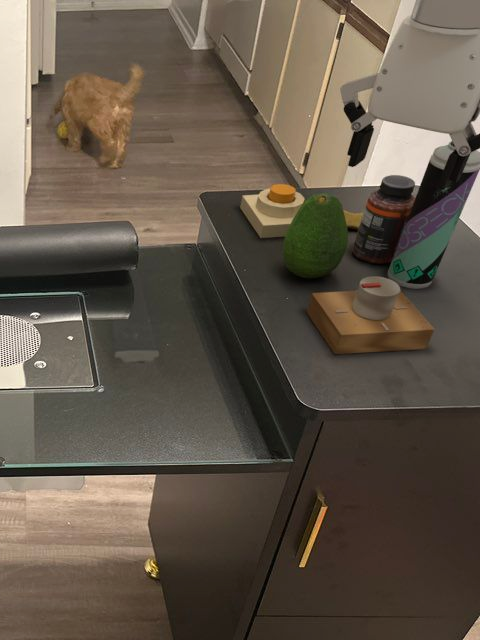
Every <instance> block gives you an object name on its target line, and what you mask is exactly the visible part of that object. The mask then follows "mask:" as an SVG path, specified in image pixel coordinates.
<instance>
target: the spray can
mask: <svg viewBox="0 0 480 640" xmlns="http://www.w3.org/2000/svg"><path fill="white" fill-rule="evenodd" d="M455 149H456V148H455V146H454V144H453V142H452V140H451V141H449V142H448V144H446V145H441V146H438V147H436V148H434V149H433V152H432V154H431V155H430V158H429V161H428V163H427V166H426V169H425V172H424V174H423V176H422V180H421V182H420V185H419V187H418V190H417V193H416V195H415V200H414V203H413V206H412V208H411V211H410V214H409V217H408V219H407V222H406V225H405V227H404V230H403V233H402V235H401V238H400V241H399V243H398V246H397V249H396V251H395V254H394V257H393V259H392V262H390V264H389V268H388V270H387V274H386V275H387V279H390V280H392V281H394V282H396V283H397V284H398V285H399V287H403V288H407V289H417V290H419V289H425V288H428V287H430V286H431V285H432V282H433V280H434V278H435V277H436V273H437V271H438V269H439V266H440V264H441V262H442V259H443V258H444V255H445V252H446V250H447V248H448V245H449V243H450V241H451V239H452V237H453V234H454V231H455V229H456V227H457V225H458V222H459V219H460V218H461V215H462V214H463V213H462V212H463V210H464V207H465V205H466V203H467V201H468V198H469V197H470V196H469V195H470V194H471V191H472V189H473V186H474V184H475V182H476V180H477V177H478V175H479V172H480V151H478V149H477V150H475V151H473V152H471V153H470V156H469V158H468V161H467V163H466V166H465V168H464V170H463V173H462V175H461V177H460V179H459V180H458V181H457V182H454V181H452V183H451V184H450V185H449V186H448V187H447V188H446V189H445V190H440V189H438V187H437V186H438V183H439V180H440V178H441V175H442V173H443V170H444V168H445V165H446V163H447V160H448V157H449V155H450V154H451V153H452V152H453V151H454V150H455Z"/></svg>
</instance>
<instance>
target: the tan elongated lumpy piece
mask: <svg viewBox="0 0 480 640" xmlns="http://www.w3.org/2000/svg"><path fill="white" fill-rule="evenodd" d="M343 211H344V215H345V220H346V224H347V229H352V230H356V231H358V229H359V226H360V223H361V220H362V217H363V213H364V212H360V213H354V212H350V211H346V210H344V209H343Z"/></svg>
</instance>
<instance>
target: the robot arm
mask: <svg viewBox="0 0 480 640" xmlns="http://www.w3.org/2000/svg"><path fill="white" fill-rule="evenodd" d="M370 89H372V90H371V93H370V96H369V100H368V104H367V111H366V110H365V108H364V106H363V104H362V103H361V101H360V100H359V92H363V91H367V90H370ZM340 96H341V100H342V104H343V112H344V114H345V116H346V118H347V119H348V121H349V123H350V124H351V125H350V130H351V131H352V132H353V133H352V136H351V140H350V143H349V146H348V149H347V156H349V157H350V158H349V160H348V163H347V166H348V167H350V168H355V167H356V166H358V165H359V164H360V163H362V162H363V161H365V159H366V157H367V154H368V150H369V147H370V143H371V141H372V137H373V134H374V131H375V127H374V124H373V122H375V121H376V120H377V119H378V120H380V121H383V122H384V121H385V122H388V123H392V124H397V125H403V126H407V127H412V128H415V129H421V130H426V131H429V132H434V133H440V134H447V135H449V137H450V140H451V141H452V142H453V144H454V146H455V148H456V149H455V150H454V151H453V152H452V153H451V154H450V155H449V157H448V160H447V163H446V165H445V168H444V170H443V173H442V175H441V178H440V180H439V183H438V186H437V187H438V189H440V190H445V189H446V188H447V187H448V186H449V185H450V184H451V183H452V181H454V182H457V181H458V180H459V179H460V177H461V175H462V173H463V170H464V168H465V166H466V163H467V161H468V158H469V156H470V153H471V152H473V151H475V150H477V151H478V150H479V149H480V132H479V133H477V132H476V130H475V128H474V125H473V124H472V123H474V122H475V121H476V120H477V119H478V117H479V116H480V0H415V2H414V5H413V9H412V12H411V14H410V15H407V16H406V17H405V18H403V20H402V21H401V23H400V25H399V26H398V29H397V30H396V33H395V35H394V36H393V39H392V41H391V43H390V45H389V47H388V49H387V52H386V53H385V56H384V59H383V61H382V64H381V66H380V69H379V71H378V72H376V73H374V74H370V75H368V76H363V77H360V78H357V79H353V80H350V81H347V82H346V83H344V84H342V85H341V86H340Z"/></svg>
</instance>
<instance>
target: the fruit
mask: <svg viewBox="0 0 480 640" xmlns="http://www.w3.org/2000/svg"><path fill="white" fill-rule="evenodd" d="M343 210H344V207H343V204H342V203H341V202H340V200H339V198H338V197H336V196H335V195H333V194H329V193H327V192H322V193H316V194H312V195H311V196H309V197H308V198H307V199H306V200H304V203H303V204H302V206H301V207H300V208H299V210H298V212H297V213H296V215H295V217H294V218H293V220H292V222H291V224H290V226H289V228H288V230H287V233H286V235H285V237H284V239H283V245H282V255H283V259H284V263H285V266H286V268H287V269H288V270H289V271H290V272H291V273H292V274H294V275H295V276H297V277H299V278H303V279H309V280H310V279H317V278H321V277H324V276H326V275H329V274H330V273H332V272H333V271H334V270H336V269H337V268H338V266H339V265H340V263H341V262H342V260H343V258H344V256H345V254H346V252H347V249H348V244H349V230H348V228H347V224H346V220H345V215H344V211H345V210H344V211H343Z"/></svg>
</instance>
